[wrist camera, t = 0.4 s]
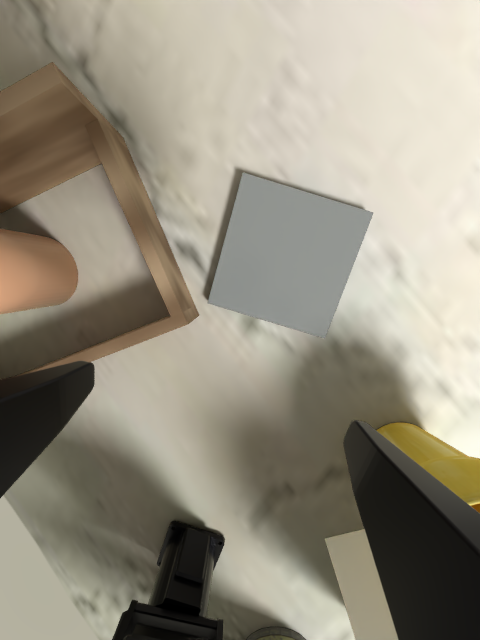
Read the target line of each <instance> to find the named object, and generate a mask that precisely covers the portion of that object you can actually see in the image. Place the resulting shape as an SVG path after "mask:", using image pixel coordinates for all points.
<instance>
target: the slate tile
mask: <svg viewBox="0 0 480 640" xmlns="http://www.w3.org/2000/svg"><path fill="white" fill-rule="evenodd" d="M372 215H373V212H370V211H367V210H363V209H360V208H357V207H354V206H350V205H347V204H344V203H341V202H337V201H334V200H331V199H328V198H325V197H321V196H318V195H315V194H312V193H308V192H305V191H302V190H299V189H295V188H292V187H289V186H286V185H282V184H279V183H276V182H273V181H269V180H266V179H263V178H260V177H256V176H253V175H250V174H247V173H243V174H242V177H241V181H240V185H239V188H238V192H237V196H236V200H235V203H234V207H233V211H232V214H231V218H230V222H229V225H228V229H227V233H226V237H225V240H224V244H223V248H222V251H221V255H220V259H219V263H218V266H217V270H216V274H215V277H214V281H213V285H212V288H211V292H210V296H209V300H208V303H209V304H212V305H215V306H218V307H222V308H225V309H228V310H232V311H235V312H238V313H242V314H245V315H248V316H252V317H255V318H258V319H262V320H265V321H268V322H272V323H275V324H278V325H282V326H285V327H288V328H292V329H295V330H298V331H301V332H305V333H308V334H311V335H315V336H318V337H321V338H325V337H326V334H327V332H328V329H329V327H330V324H331V321H332V319H333V316H334V314H335V311H336V308H337V306H338V303H339V301H340V298H341V296H342V293H343V290H344V288H345V285H346V283H347V280H348V277H349V275H350V272H351V270H352V267H353V265H354V262H355V259H356V257H357V254H358V252H359V249H360V246H361V244H362V241H363V239H364V236H365V233H366V231H367V228H368V226H369V223H370V221H371V218H372Z"/></svg>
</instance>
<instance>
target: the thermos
mask: <svg viewBox="0 0 480 640" xmlns="http://www.w3.org/2000/svg"><path fill="white" fill-rule="evenodd" d="M247 640H306V639H305V638H303V637H302V636H301V635H300V634H298V633H297V632H295V631H293V630H290V629H286V628H282V627H268V628H264V629H260V630H258V631H256V632H254V633H252V634H251V635H250V636H249V637H248V638H247Z"/></svg>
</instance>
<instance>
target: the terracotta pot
mask: <svg viewBox="0 0 480 640" xmlns="http://www.w3.org/2000/svg"><path fill="white" fill-rule="evenodd" d="M77 283H78V271H77V266H76V263H75V261H74V259H73V257H72V255H71V254H70V252H69V251H68V250H67V249H66V248H65V247H64V246H63V245H62V244H60V243H59V242H58V241H56V240H54V239H51V238H48V237H44V236H39V235H33V234H28V233H22V232H17V231H11V230H6V229H0V314H6V313H12V312H18V311H25V310H31V309H37V308H43V307H49V306H56V305H59V304H62V303H64V302H66V301H67V300H68V299H69V298H70V297H71V296H72V295H73V293H74V292H75V290H76V287H77Z"/></svg>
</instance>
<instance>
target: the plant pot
mask: <svg viewBox="0 0 480 640" xmlns="http://www.w3.org/2000/svg"><path fill="white" fill-rule="evenodd" d="M376 431H378V432H379V433H380V434H381V435H383V436H384V437H385V438H386V439H388V440H389V441H390V442H391V443H393V444H394V445H395V446H396V447H398V448H399V449H400V450H401V451H403V452H404V453H405V454H406V455H408V456H409V457H410V458H411V459H413V460H414V461H415V462H416V463H417V464H419V465H420V466H421V467H422V468H424V469H425V470H426V471H427V472H429V473H430V474H431V475H432V476H434V477H435V478H436V479H437V480H439V481H440V482H441V483H442V484H444V485H445V486H446V487H447V488H449V489H450V490H451V491H452V492H454V493H455V494H456V495H457V496H459V497H460V498H461V499H462V500H464V501H465V502H466V503H467V504H469V505H470V506H471V507H472V508H474V509H475V510H476V511H477V512H479V513H480V459H479V458H474V457H469V456H467V455H465V454H464V453H462V452H460V451H458V450H457V449H455V448H453V447H452V446H450V445H448V444H446V443H445V442H443V441H441V440H440V439H438V438H436V437H435V436H433V435H431V434H430V433H428V432H426V431H425V430H423V429H421V428H420V427H418V426H416V425H413V424H409V423H403V422H398V423H391V424H387V425H385V426H382V427H381V428H379V429H377V430H376Z"/></svg>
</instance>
